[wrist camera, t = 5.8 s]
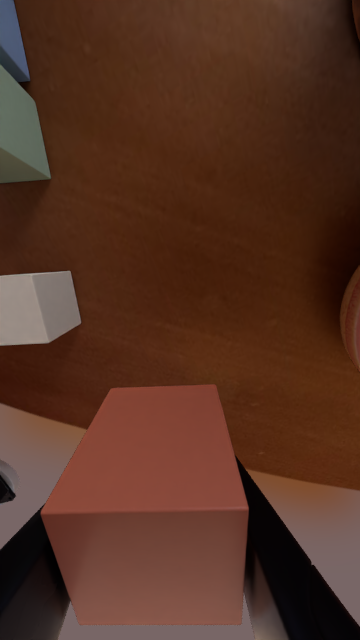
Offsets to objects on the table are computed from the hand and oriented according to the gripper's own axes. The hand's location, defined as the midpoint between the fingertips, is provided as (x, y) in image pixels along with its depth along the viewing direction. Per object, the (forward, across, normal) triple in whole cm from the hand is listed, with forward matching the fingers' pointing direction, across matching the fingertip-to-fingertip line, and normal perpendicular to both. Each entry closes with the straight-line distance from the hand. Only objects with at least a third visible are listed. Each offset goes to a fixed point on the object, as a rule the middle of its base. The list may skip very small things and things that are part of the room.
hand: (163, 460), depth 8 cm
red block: (+2, 0, 0) cm, 2 cm away
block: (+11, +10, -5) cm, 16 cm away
